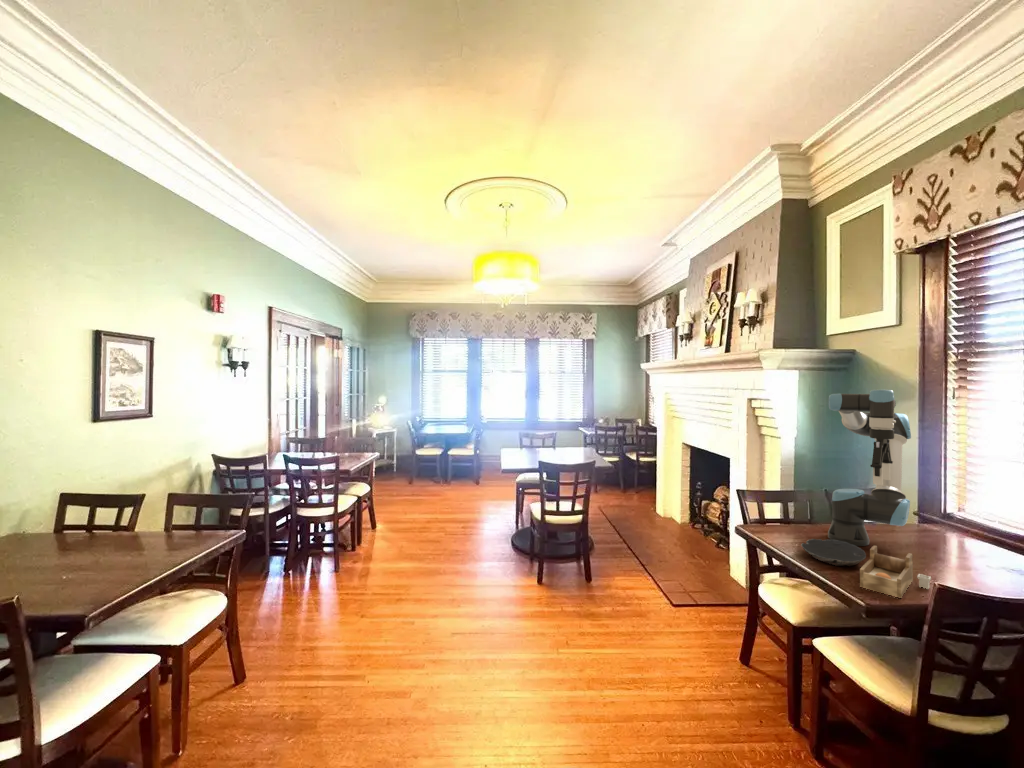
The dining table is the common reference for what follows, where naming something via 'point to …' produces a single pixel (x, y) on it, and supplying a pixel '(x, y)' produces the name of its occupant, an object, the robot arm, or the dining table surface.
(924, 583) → the grey egg cup
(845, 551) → the board
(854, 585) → the dining table surface
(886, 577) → the ball
